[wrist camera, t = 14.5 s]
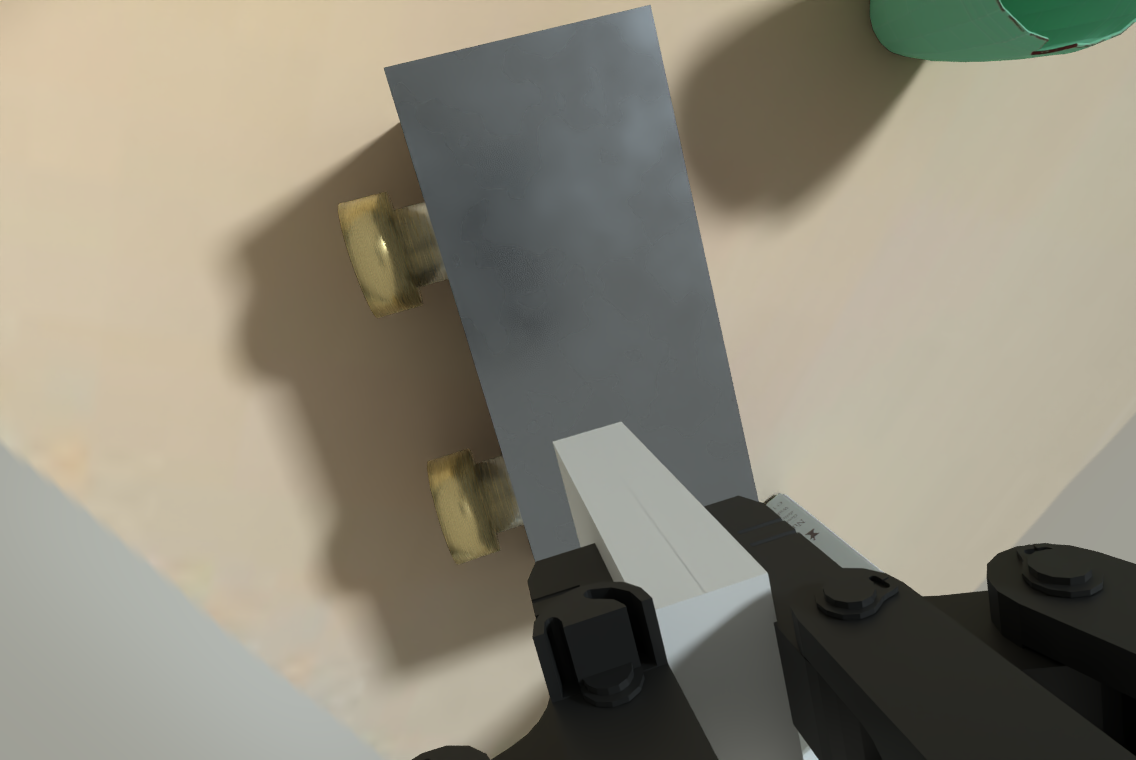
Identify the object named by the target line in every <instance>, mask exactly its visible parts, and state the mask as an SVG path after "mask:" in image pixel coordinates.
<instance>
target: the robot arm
mask: <svg viewBox="0 0 1136 760" xmlns="http://www.w3.org/2000/svg"><path fill="white" fill-rule="evenodd" d="M553 445H554V449H555V453H556V457H557V460H558V464H559V468H560V472H561V475H562V479H563V483H564V487H565V490H566V494H567V498H568V502H569V506H570V509H571V513H572V517H573V521H574V524H575V528H576V532H577V536H578V540H579V543H580V547H581V548H577V549H574V550H571V551H568V552H565V553H561V554H558V555H555V556H552V557H549V558H546V559H542V560H539V561H536V563H535V565H534V568H533V570H532V572H531V574H530V577H529V579H528V586H529V590H530V595H531V599H532V603H533V608H534V612H535V617H536V620H535V622H534V629H533V640H534V644H535V647H536V651H537V654H538V657H539V661H540V664H541V668H542V671H543V674H544V678H545V681H546V684H547V688H548V691H549V695H550V699H549V702H548V706H547V709H546V710H545V712H544V714H543V715H542V717H541V719H540V720H539V722H538V723H537V724H536V725H535V726H534V727H533V729H532V730H531V731H530V732H529V733H528V734H527V735H526V736H525V737H523V738H522V739H521V740H519V741H518V742H517V743H516V744H514V745H513V746H512V747H510V748H509V749H507V750H506V751H504V752H503V753H501V754H499V755H498V756H496V757H495V758H493V759H492V760H803V755H802V750H801V744H800V739H799V734H798V732H799V733H800V734H801V736H802V737H803V739H804V740H805V741H806V743H807V744H808V746H809V747H810V748H811V750H812V751H813V753H814V754H815V755H816V757H817V758H818V760H1136V564H1134V563H1131V562H1128V561H1125V560H1122V559H1118V558H1115V557H1112V556H1109V555H1106V554H1103V553H1100V552H1096V551H1092V550H1088V549H1083V548H1079V547H1074V546H1070V545H1056V544H1048V543H1042V544H1033V545H1025V546H1017V547H1014V548H1011V549H1009V550H1006V551H1003V552H1001V553H998V554H997V555H996V556H995V557H994V558H993V559H992V560H991V561H990V562H989V563H988V564H987V584H988V591H980V592H970V593H961V594H951V595H941V596H921V595H919V594H918V593H917V592H915V591H914V590H913V589H911V588H910V587H909V586H907V585H906V584H905V583H903V582H902V581H900V580H898V579H896V578H894V577H892V576H890V575H888V574H886V573H883V572H878V571H874V570H869V569H865V568H842V567H841V566H840V565H838V564H837V563H836V562H835V561H833V560H832V559H831V558H830V557H829V556H827V555H826V554H825V553H824V552H823V551H821V550H820V549H819V548H818V547H816V546H815V545H814V544H813V543H812V542H810V541H809V540H808V539H807V538H806V537H804V536H803V535H802V534H801V533H799V532H796V530H795V528H793V527H792V526H791V525H790V524H789V523H787V522H786V521H785V520H784V521H782V519H781V517H780V516H779V515H778V514H776V513H775V512H774V511H773V510H772V509H770V508H769V507H768V506H767V505H765V504H764V503H761V502H758V501H755V500H751V499H748V498H745V497H742V496H739V495H738V496H735V497H732V498H729V499H726V500H723V501H719V502H716V503H713V504H710V505H707V506H703V505H702V504H701V503H700V502H699V501H698V500H697V499H696V498H695V497H694V496H693V495H692V494H691V493H690V492H689V491H688V490H687V489H686V488H685V487H684V486H683V485H682V484H681V483H680V482H679V481H678V480H677V479H676V478H675V476H674V475H673V474H672V473H671V472H670V471H669V470H668V469H667V468H666V467H665V466H664V465H663V464H662V463H661V462H660V461H659V460H658V459H657V458H656V457H655V456H654V455H653V454H652V453H651V452H650V451H649V450H648V449H647V448H646V446H645V445H644V444H643V443H642V442H641V441H640V440H639V439H638V438H637V437H636V436H635V435H634V434H633V433H632V432H631V431H630V430H629V429H628V428H627V427H626V426H625V425H624V424H623V423H622V422H618V423H615V424H611V425H608V426H604V427H601V428H597V429H594V430H591V431H587V432H584V433H580V434H577V435H574V436H570V437H567V438H563V439H560V440H557V441H553ZM412 760H490V759H489V757H488V756H487V754H485V753H483V752H481V751H479V750H477V749H475V748H473V747H470V746H444V747H441V748H437V749H434V750H431V751H428V752H425V753H422V754H420V755H419V756H417V757H415V758H414V759H412Z"/></svg>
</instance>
